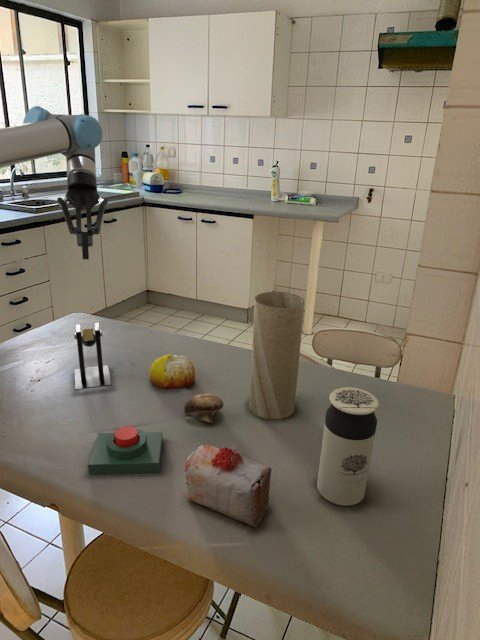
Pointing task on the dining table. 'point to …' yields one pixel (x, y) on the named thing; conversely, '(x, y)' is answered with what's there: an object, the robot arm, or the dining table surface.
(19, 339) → the dining table surface
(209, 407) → the mushroom
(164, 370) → the fruit
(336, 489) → the travel mug
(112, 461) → the button box
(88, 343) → the lever
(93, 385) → the bracket
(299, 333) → the tube
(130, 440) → the button
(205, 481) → the food item
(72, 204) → the robot arm
